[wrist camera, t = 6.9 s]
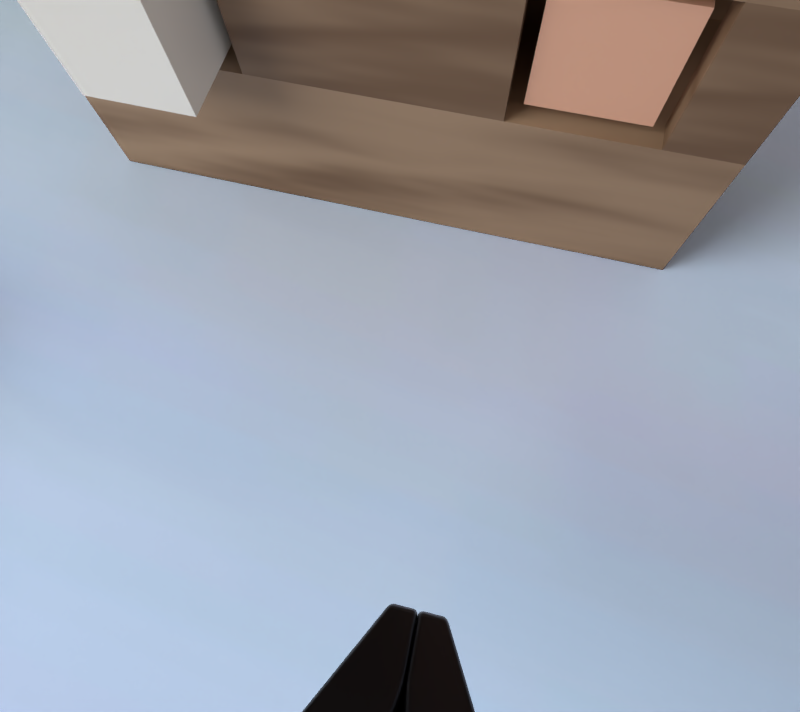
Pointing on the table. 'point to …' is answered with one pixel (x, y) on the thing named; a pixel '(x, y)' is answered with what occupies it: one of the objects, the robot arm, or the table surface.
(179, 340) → the table surface
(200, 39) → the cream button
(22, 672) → the table surface
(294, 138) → the wooden stand
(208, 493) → the table surface
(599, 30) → the salmon pink cube
